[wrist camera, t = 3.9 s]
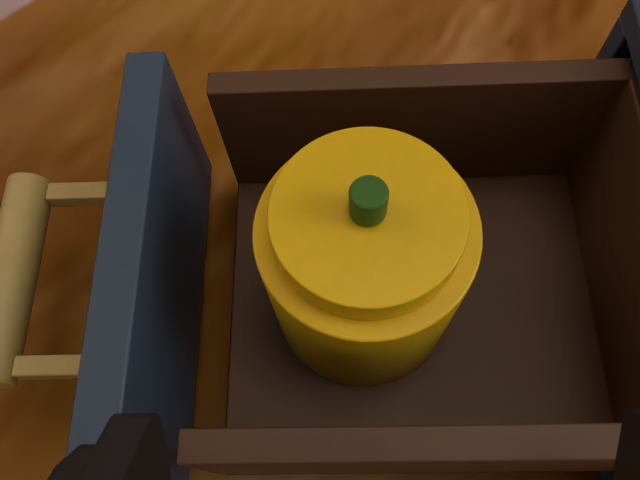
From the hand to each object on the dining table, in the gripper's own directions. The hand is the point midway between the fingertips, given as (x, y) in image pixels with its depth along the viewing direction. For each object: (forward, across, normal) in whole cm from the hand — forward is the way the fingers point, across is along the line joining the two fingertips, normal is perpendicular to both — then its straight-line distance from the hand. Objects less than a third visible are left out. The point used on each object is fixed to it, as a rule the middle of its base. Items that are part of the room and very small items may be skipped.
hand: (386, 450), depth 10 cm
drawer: (+11, +1, +3) cm, 11 cm away
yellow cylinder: (+10, 0, +2) cm, 10 cm away
